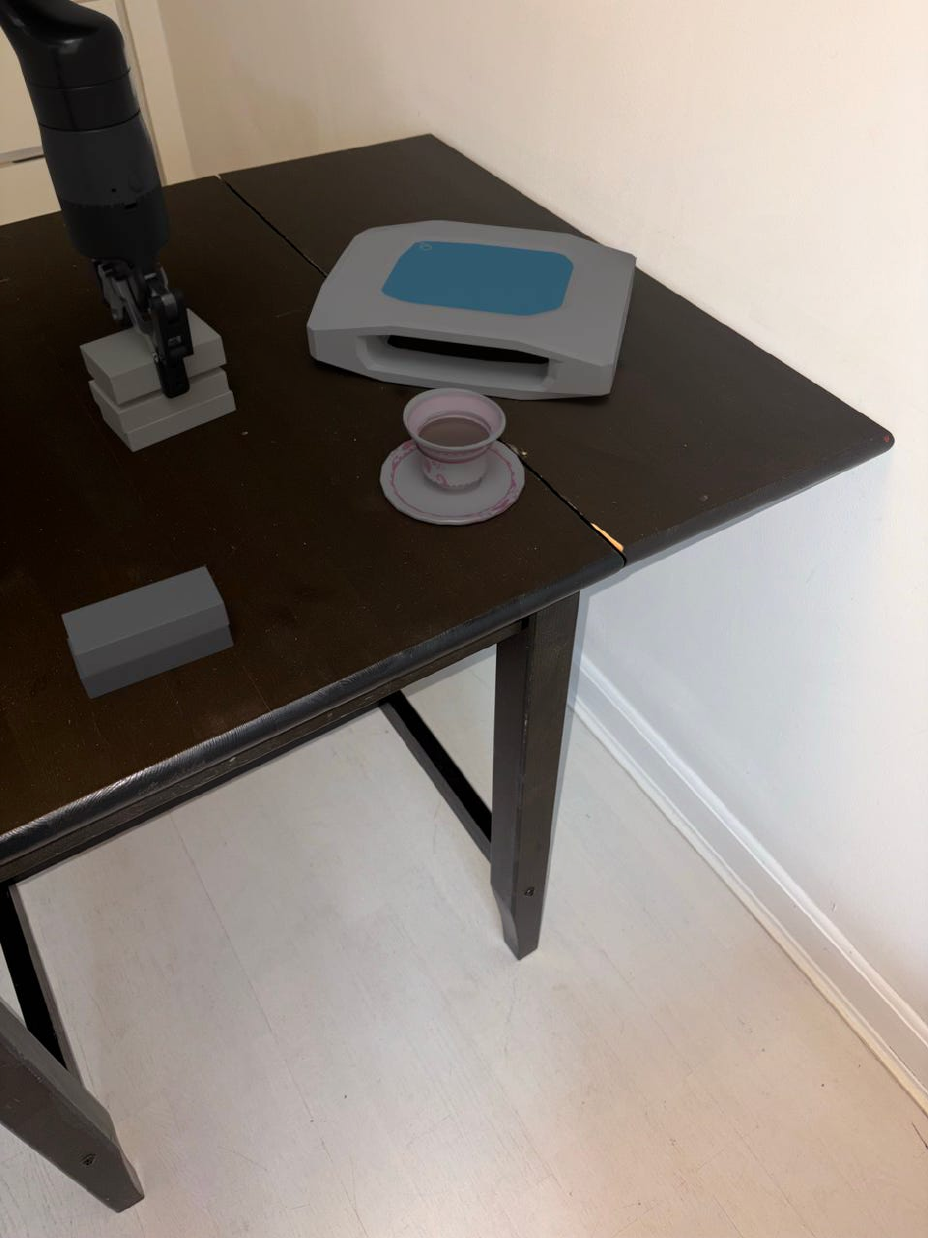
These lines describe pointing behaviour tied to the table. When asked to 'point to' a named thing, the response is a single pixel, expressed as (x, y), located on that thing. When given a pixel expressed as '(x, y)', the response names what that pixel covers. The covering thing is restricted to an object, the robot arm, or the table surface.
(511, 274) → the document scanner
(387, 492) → the teacup
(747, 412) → the table surface
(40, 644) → the table surface
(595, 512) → the table surface
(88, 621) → the gray block
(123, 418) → the grey block
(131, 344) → the light grey rectangular block
